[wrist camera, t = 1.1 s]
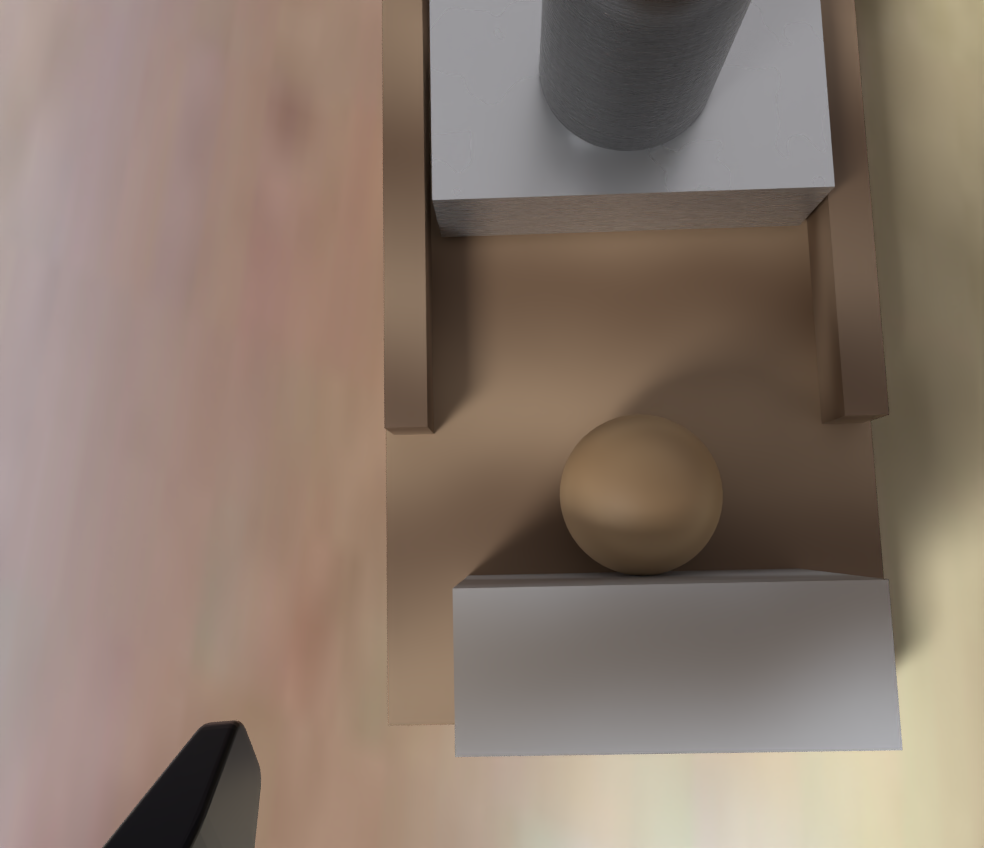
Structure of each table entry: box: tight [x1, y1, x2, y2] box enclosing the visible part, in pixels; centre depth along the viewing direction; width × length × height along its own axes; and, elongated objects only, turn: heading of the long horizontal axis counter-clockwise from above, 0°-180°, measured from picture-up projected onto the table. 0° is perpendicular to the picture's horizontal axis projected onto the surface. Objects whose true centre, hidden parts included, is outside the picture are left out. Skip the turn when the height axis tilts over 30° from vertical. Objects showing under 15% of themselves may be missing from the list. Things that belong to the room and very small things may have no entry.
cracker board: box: [382, 0, 902, 757], centre depth 20 cm, size 20×12×7 cm, turn 1°
